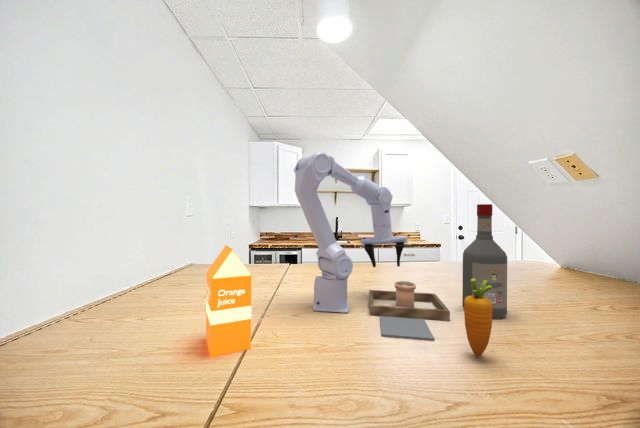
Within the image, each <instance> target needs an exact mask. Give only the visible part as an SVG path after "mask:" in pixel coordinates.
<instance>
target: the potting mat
mask: <svg viewBox="0 0 640 428" xmlns="http://www.w3.org/2000/svg"><path fill="white" fill-rule="evenodd" d="M379 325H380V331H381V332H380V333H381V337H384V338H385V337H386V338H394V339H408V340H417V341H419V340H420V341H430V342H431V341H432V342H434V341H435V337H434V335H433V333H432V332H431V329H430V328H429V325H428V324H427V322H426V319H414V318H400V317H386V316H379Z"/></svg>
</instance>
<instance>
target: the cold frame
mask: <svg viewBox="0 0 640 428" xmlns="http://www.w3.org/2000/svg"><path fill="white" fill-rule="evenodd" d="M374 300H387V301H396V290H395V291H393V290H377V289H376V290H375V289H369V316H373V317H374V316H376V317H380V316H384V317H398V318H412V319H424V320H429V321H431V320H432V321H444V322H450V321H451V311H450V309H449V308H448V307H447V306H446V305H445V304H444V303H443V301H442V300H441V299H440V297H438V295H437V294H436V293H431V292H415V291H414V302H418V303H419V302H420V303H432V304H433V306H434V307H435V308H423V307H414V308H412V307H396V305H394V306H393V305H380V304H379V305H378V304H377V305H376V304H375V303H374Z"/></svg>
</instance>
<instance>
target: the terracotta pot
mask: <svg viewBox="0 0 640 428" xmlns="http://www.w3.org/2000/svg"><path fill="white" fill-rule="evenodd" d="M416 287H417V284H416V283H414V282H410V281H402V280H401V281H394V288H395V291H396V300H395V306H396V307H412V308H415V301H414V292H415V290H416V289H417V288H416Z"/></svg>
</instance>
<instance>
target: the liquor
mask: <svg viewBox="0 0 640 428" xmlns="http://www.w3.org/2000/svg"><path fill="white" fill-rule="evenodd" d="M476 216H477V224H476V225H477V226H476V227H477V229H476V230H477V231H476V235H475V238H474V240H473V241H472V242H471V243H470V244H469V245H467V247H466V248H465V249H463V250H464V251H463V253H462V303H461V304H462V309H464V300H465V298H466V297H467V296H472V295H474V293H473V290H472V286H471V282H470V281H471V279H473V278H474V279H475V280H476V284H477V286H478V289H480V288H481V286H482V283H483V281H484V280H487V281H488V282H487V284H486V286H489V285H490V286H492V289H489V290H488V291H487V292H486V293H485V294H484V295H483V297H485V298H488V299H489V300H490V301H491V303H492V307H493V311H492V320H495V319H496V320H503V319H504V318H505V317H506V316H507V314H508V255H507V253H506V252H505V250H504V249H503V248H501V247H500V245H499V244H498V243H497V242H495V240H494V235H493V232H492V231H493V223H492V222H493V219H492V218H493V204H491V203H490V204H488V203H486V204H483V203H480V204H479V203H478V204H476ZM486 286H485V287H486Z"/></svg>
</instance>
